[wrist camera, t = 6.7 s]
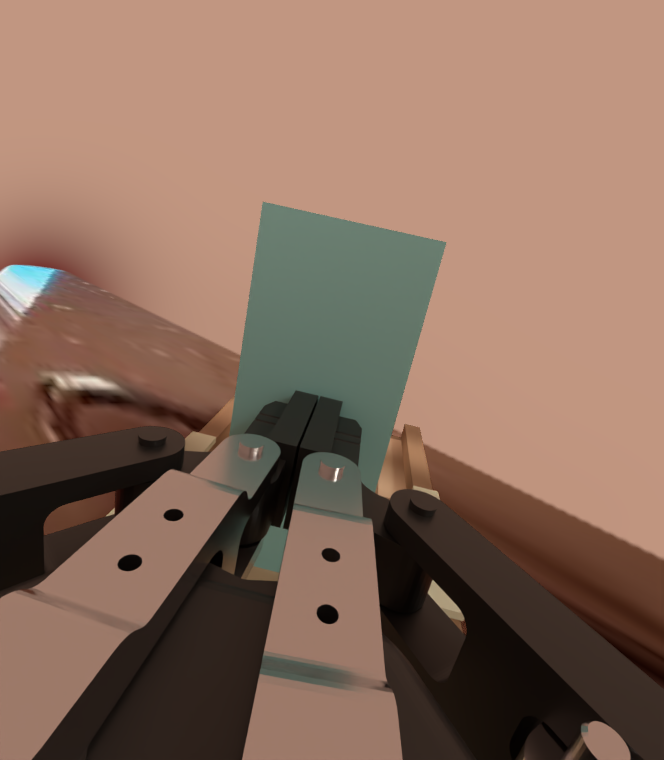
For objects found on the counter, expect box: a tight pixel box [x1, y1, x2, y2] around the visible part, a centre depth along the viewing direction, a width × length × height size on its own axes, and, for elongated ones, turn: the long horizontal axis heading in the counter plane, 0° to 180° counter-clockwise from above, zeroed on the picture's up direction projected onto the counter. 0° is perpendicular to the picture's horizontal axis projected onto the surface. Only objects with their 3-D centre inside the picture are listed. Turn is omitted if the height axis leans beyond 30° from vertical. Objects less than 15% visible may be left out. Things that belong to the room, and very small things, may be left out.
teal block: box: [229, 202, 446, 573], centre depth 15 cm, size 5×5×12 cm
